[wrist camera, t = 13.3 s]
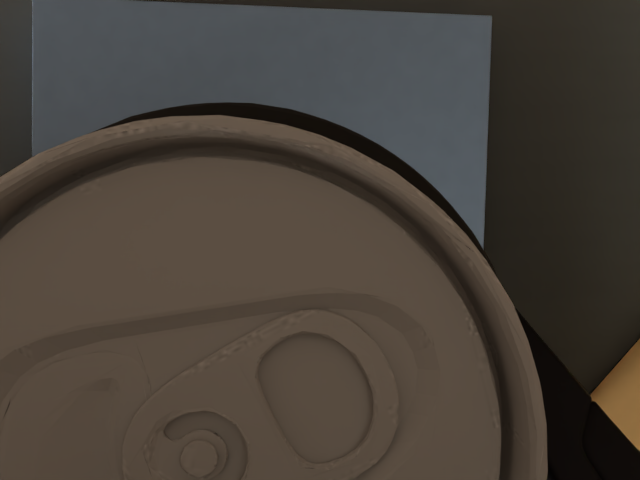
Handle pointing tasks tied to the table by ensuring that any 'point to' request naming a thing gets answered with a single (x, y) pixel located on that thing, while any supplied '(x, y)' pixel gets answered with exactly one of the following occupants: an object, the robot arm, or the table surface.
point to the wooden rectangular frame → (623, 395)
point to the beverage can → (252, 311)
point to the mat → (276, 75)
